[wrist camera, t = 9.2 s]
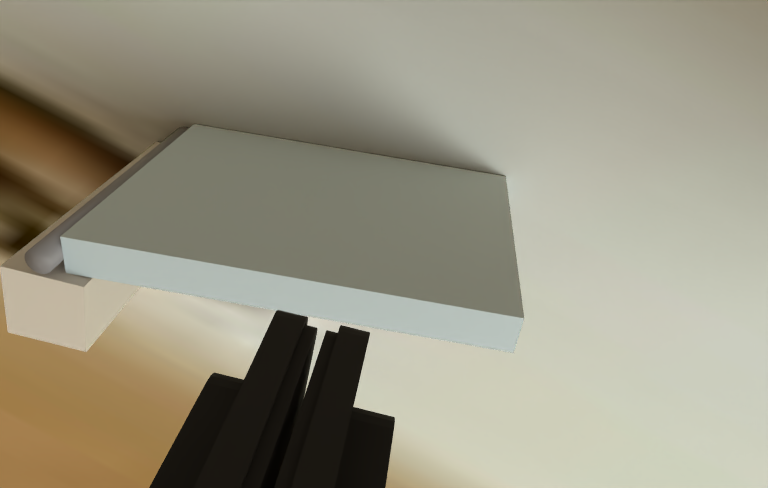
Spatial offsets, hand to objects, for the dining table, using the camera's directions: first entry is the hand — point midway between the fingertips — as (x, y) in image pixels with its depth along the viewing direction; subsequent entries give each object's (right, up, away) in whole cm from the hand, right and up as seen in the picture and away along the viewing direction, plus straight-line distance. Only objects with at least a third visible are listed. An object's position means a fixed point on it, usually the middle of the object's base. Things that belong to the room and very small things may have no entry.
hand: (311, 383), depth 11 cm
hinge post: (-9, +6, +22) cm, 25 cm away
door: (-1, +7, +21) cm, 22 cm away
